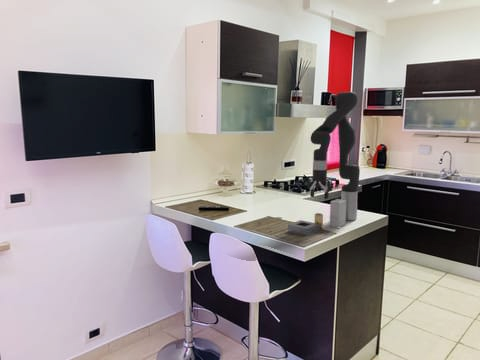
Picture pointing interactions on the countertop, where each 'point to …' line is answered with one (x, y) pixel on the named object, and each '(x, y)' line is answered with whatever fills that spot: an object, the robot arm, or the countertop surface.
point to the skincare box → (337, 213)
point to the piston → (319, 220)
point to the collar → (303, 228)
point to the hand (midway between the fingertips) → (319, 197)
